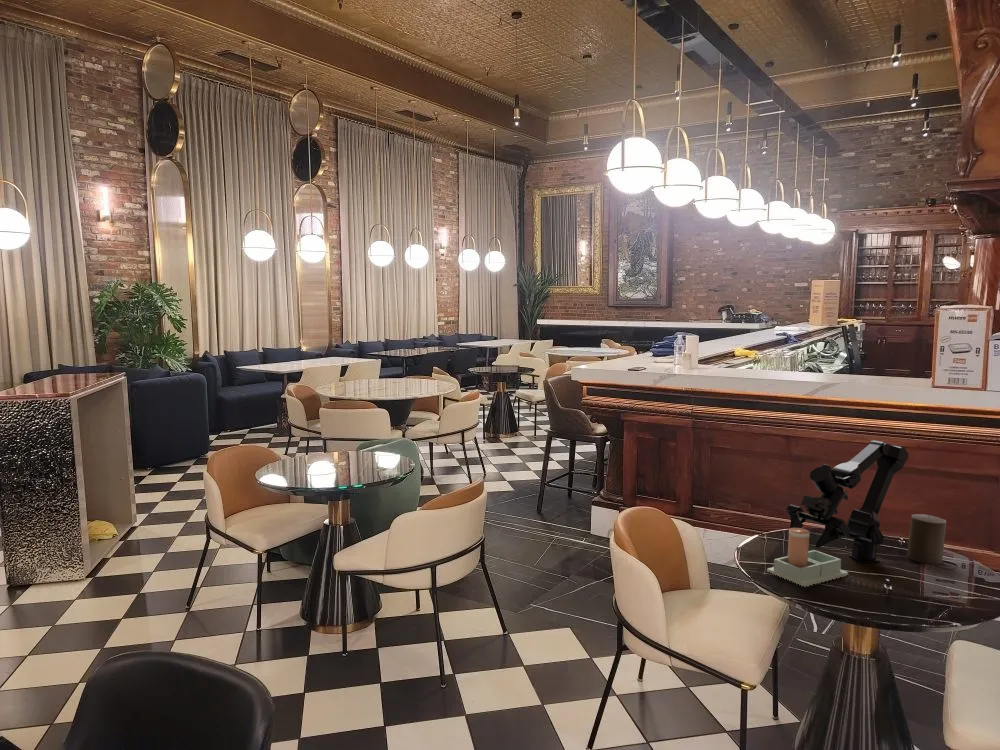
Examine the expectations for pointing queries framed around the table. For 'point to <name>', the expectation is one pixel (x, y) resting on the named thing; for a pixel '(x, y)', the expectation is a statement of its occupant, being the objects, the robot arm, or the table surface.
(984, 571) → the table surface
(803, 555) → the tumbler
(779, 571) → the compartment organizer
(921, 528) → the pillar candle
